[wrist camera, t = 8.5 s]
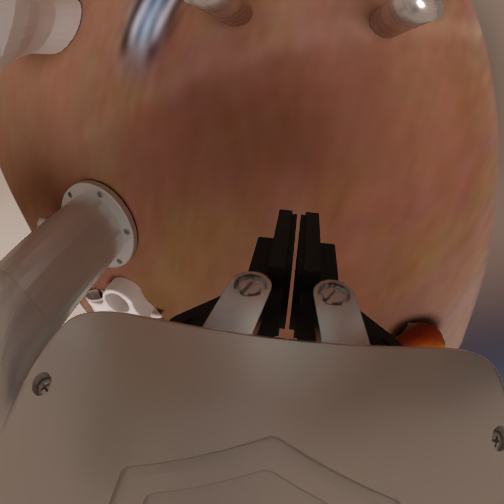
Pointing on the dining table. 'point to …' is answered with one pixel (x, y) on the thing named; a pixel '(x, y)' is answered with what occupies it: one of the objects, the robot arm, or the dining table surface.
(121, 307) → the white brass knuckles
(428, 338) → the fruit
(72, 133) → the dining table surface
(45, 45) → the cup
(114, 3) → the dining table surface
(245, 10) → the inner post
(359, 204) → the dining table surface
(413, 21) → the outer post
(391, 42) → the dining table surface
